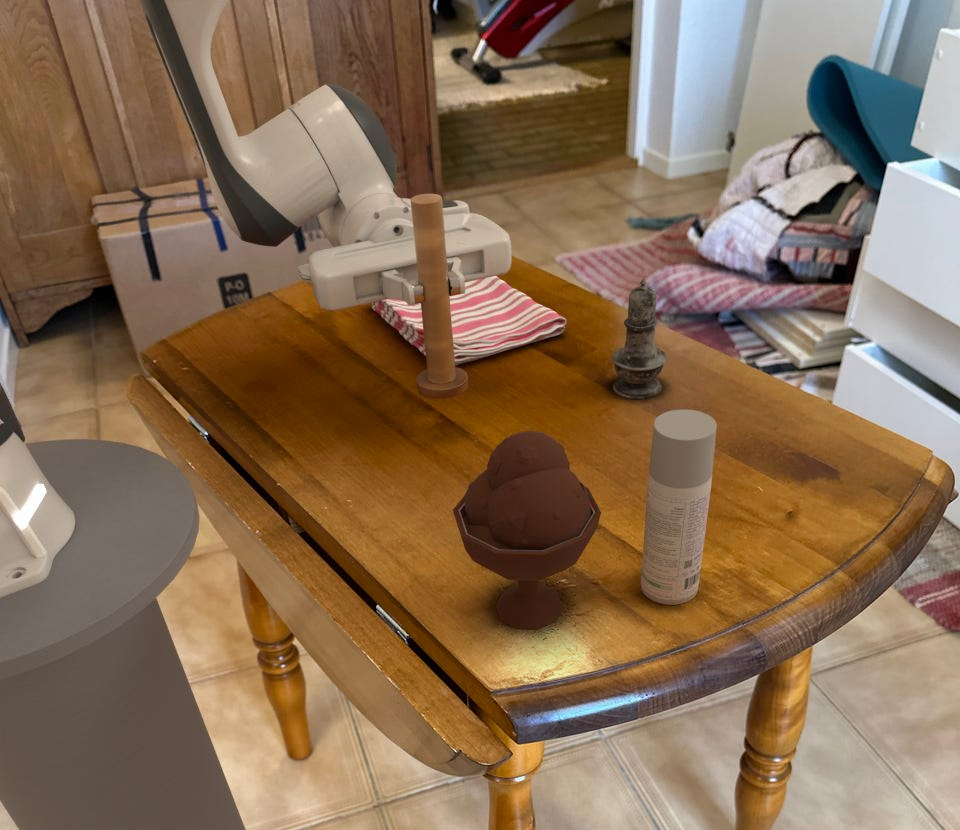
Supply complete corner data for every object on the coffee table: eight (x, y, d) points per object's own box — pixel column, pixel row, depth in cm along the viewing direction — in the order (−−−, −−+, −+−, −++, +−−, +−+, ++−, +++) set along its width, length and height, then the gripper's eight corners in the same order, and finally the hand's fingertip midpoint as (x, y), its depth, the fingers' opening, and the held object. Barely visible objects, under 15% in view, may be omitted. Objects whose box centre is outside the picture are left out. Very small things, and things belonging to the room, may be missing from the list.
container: (687, 565, 78) (705, 404, 68) (706, 600, 75) (728, 435, 65) (633, 574, 78) (644, 413, 68) (650, 609, 75) (663, 445, 64)
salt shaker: (650, 371, 105) (657, 264, 97) (673, 393, 101) (683, 283, 93) (602, 381, 104) (605, 273, 96) (623, 404, 99) (628, 294, 91)
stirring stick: (441, 404, 91) (423, 212, 79) (406, 388, 94) (384, 200, 82) (479, 385, 94) (467, 196, 82) (444, 370, 97) (428, 185, 85)
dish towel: (445, 375, 107) (443, 346, 105) (367, 308, 123) (363, 282, 121) (570, 337, 113) (570, 309, 110) (480, 278, 128) (478, 252, 126)
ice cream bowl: (439, 596, 77) (420, 437, 67) (552, 551, 81) (550, 394, 71) (503, 671, 70) (493, 505, 60) (623, 618, 74) (633, 454, 64)
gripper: (286, 233, 91) (325, 279, 82) (477, 197, 97) (534, 236, 87) (298, 297, 96) (336, 347, 86) (480, 258, 101) (535, 302, 91)
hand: (437, 291), depth 87 cm, fingers closed on stirring stick, 3 cm apart
